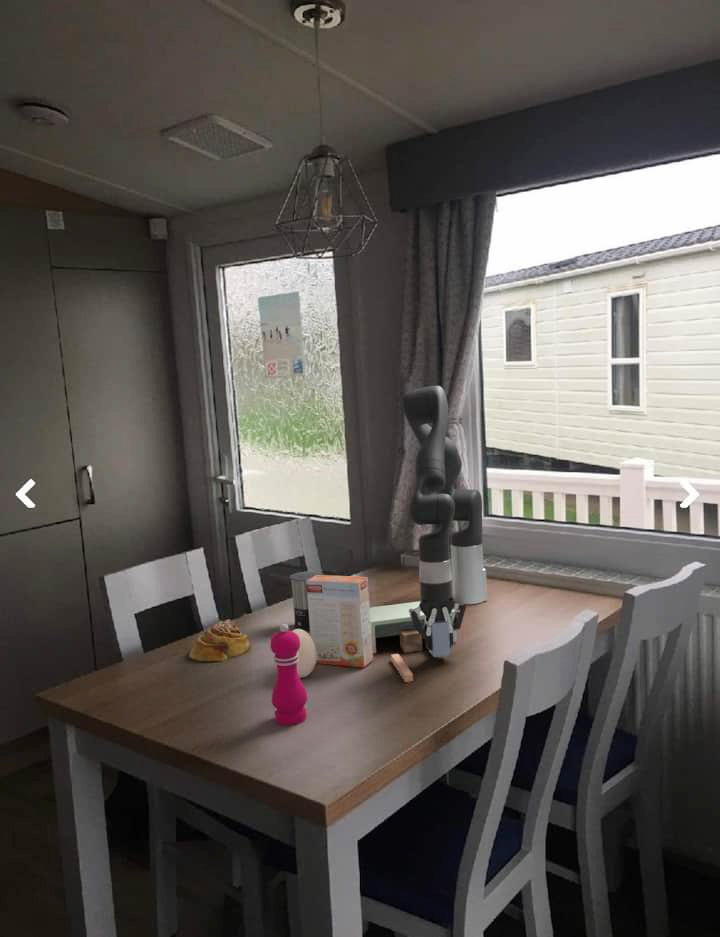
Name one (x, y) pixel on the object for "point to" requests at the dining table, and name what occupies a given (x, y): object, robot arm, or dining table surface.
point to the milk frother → (301, 598)
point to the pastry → (220, 643)
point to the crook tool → (438, 638)
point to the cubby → (395, 620)
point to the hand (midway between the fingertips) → (439, 648)
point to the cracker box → (340, 620)
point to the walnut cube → (410, 640)
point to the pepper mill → (287, 679)
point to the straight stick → (402, 667)
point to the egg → (305, 653)
